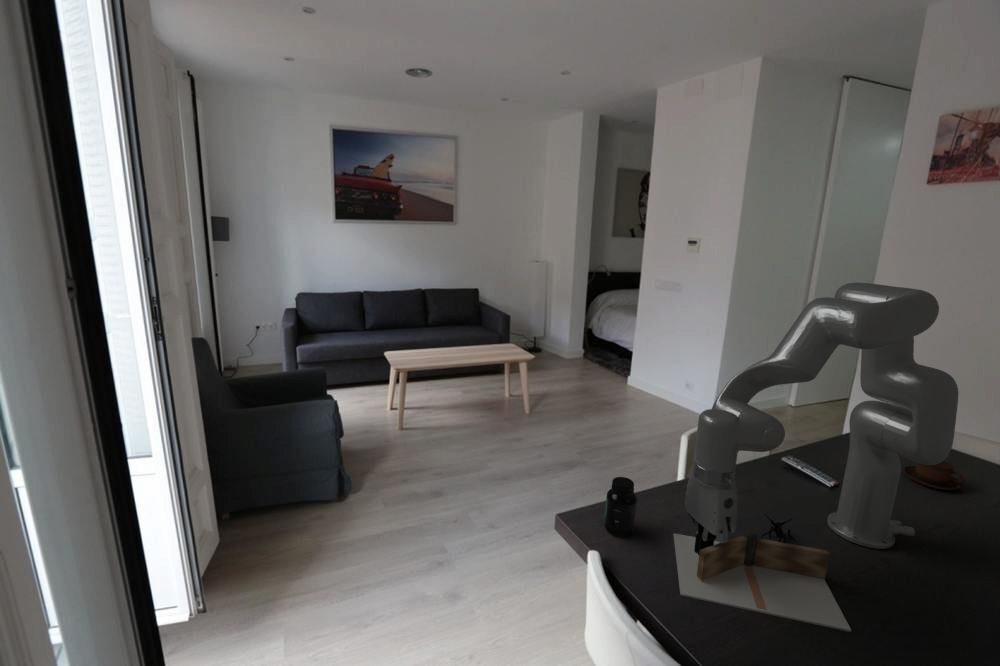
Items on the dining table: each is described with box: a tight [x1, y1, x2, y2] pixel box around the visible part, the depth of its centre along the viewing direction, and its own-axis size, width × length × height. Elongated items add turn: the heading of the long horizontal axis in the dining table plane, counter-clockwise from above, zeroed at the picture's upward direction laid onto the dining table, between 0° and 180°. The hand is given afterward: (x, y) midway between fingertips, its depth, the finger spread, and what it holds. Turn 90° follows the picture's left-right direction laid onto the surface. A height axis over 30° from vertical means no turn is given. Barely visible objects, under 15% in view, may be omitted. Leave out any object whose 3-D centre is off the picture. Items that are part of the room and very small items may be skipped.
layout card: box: [673, 533, 852, 633], centre depth 94 cm, size 28×19×1 cm
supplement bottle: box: [604, 476, 638, 538], centre depth 108 cm, size 7×7×12 cm
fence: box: [743, 530, 831, 579], centre depth 96 cm, size 15×2×7 cm, turn 74°
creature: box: [760, 513, 800, 546], centre depth 105 cm, size 8×5×8 cm
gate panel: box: [697, 534, 747, 580], centre depth 94 cm, size 12×1×6 cm, turn 114°
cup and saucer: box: [904, 460, 965, 491], centre depth 132 cm, size 12×12×6 cm
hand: (703, 553), depth 97 cm, fingers closed
